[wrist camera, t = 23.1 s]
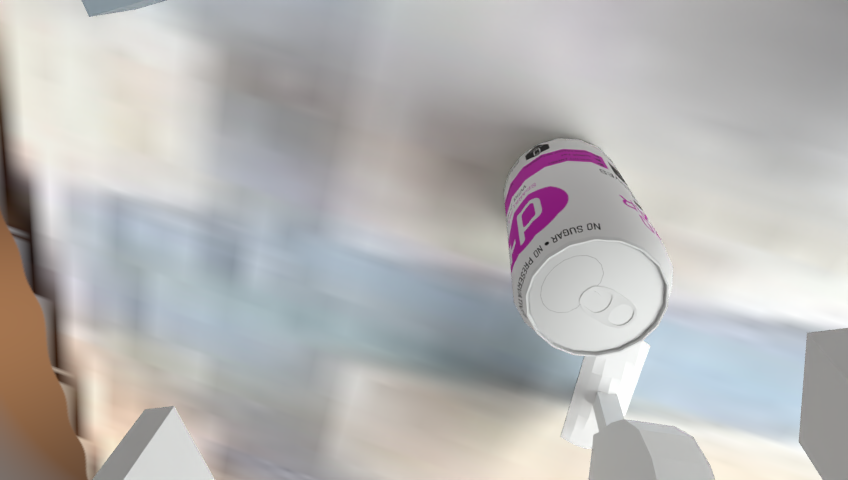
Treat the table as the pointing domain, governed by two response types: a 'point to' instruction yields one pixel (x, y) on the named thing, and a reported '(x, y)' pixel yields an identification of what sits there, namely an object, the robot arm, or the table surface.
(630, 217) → the supplement can
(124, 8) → the socket block
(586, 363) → the heart sculpture
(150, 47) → the table surface
